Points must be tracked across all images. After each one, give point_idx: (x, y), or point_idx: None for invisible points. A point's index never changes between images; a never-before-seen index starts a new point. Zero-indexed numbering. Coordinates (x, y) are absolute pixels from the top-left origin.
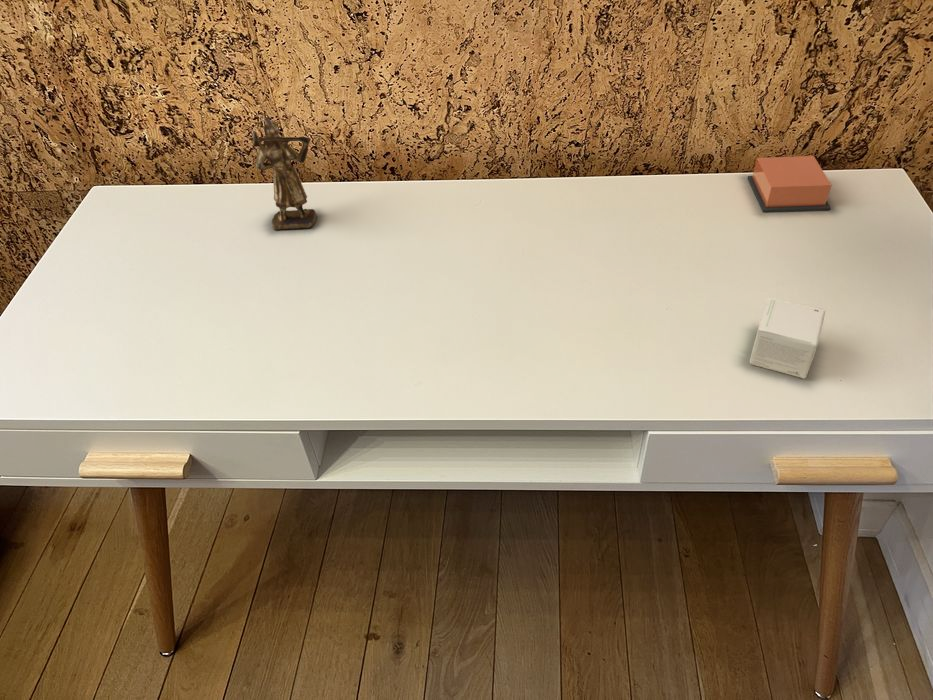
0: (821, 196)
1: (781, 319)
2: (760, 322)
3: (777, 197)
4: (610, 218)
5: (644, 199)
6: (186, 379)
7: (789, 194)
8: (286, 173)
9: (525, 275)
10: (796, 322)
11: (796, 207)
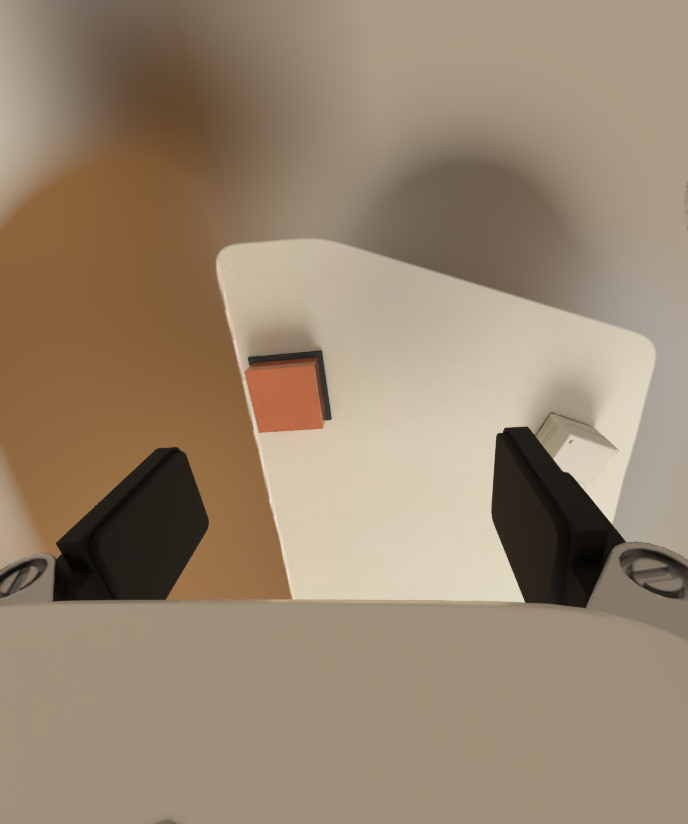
0: (316, 368)
1: (577, 471)
2: None
3: (323, 413)
4: (350, 540)
5: (316, 514)
6: None
7: (321, 404)
8: None
9: (434, 595)
10: (585, 461)
11: (324, 387)
